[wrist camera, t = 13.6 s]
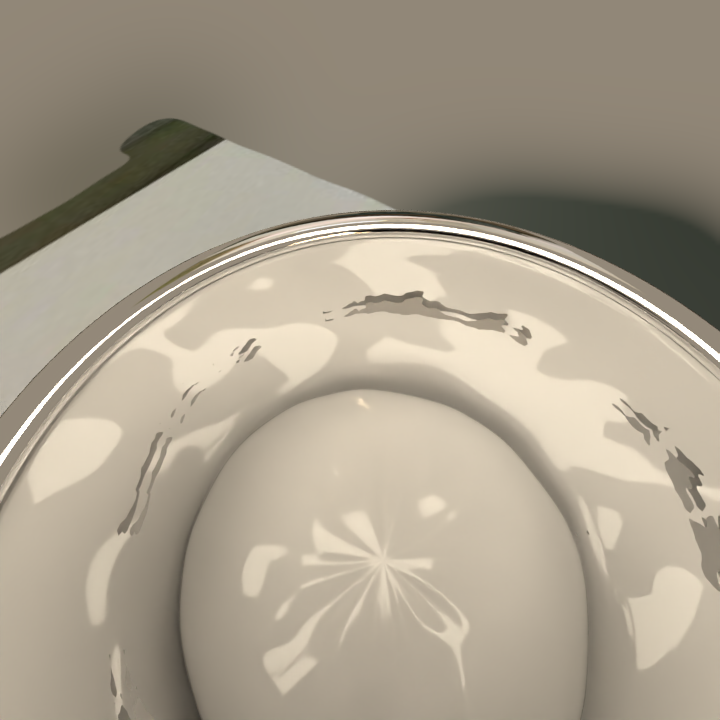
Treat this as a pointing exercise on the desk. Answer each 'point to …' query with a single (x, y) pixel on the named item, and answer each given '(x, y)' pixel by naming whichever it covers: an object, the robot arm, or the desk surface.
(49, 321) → the desk surface
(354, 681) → the beer glass
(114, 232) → the desk surface
